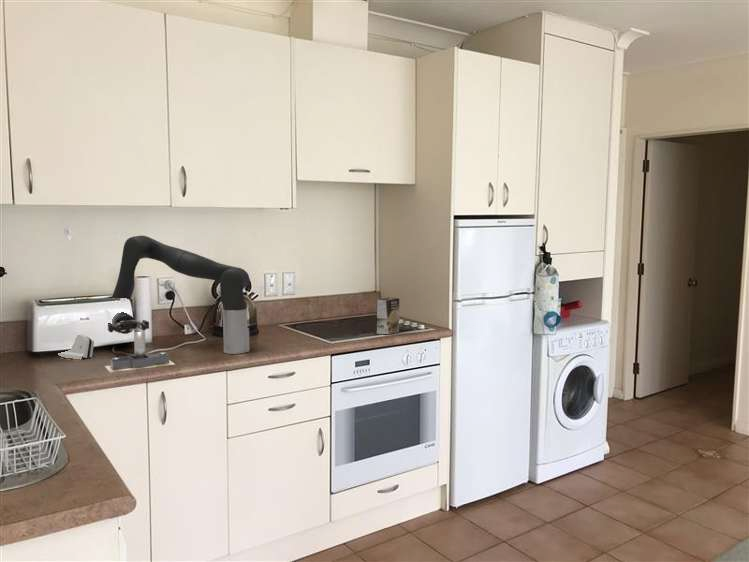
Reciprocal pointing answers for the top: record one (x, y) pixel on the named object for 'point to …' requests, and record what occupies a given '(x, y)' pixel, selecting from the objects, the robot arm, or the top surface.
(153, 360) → the grey notched block
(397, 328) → the coffee box
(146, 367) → the board
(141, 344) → the link pin
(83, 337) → the hinge
